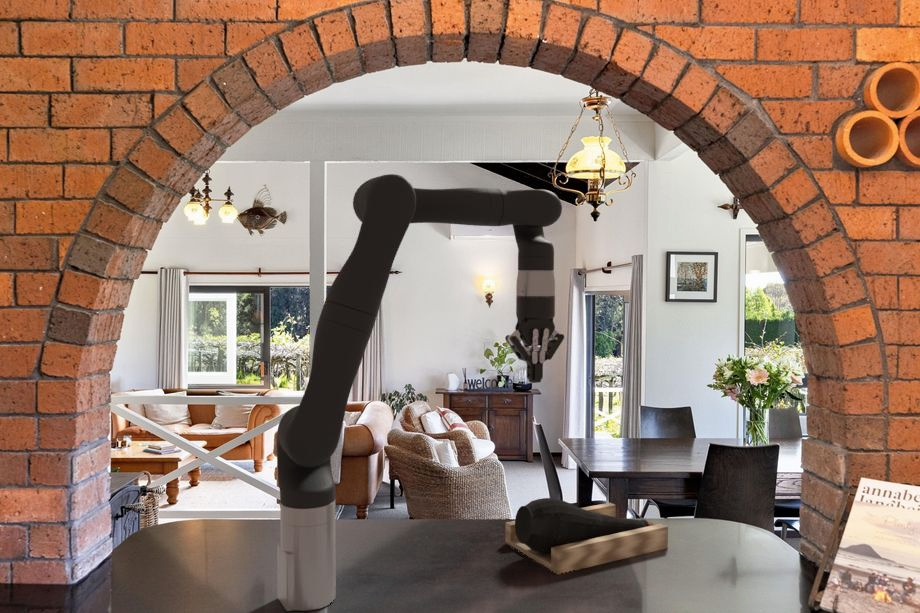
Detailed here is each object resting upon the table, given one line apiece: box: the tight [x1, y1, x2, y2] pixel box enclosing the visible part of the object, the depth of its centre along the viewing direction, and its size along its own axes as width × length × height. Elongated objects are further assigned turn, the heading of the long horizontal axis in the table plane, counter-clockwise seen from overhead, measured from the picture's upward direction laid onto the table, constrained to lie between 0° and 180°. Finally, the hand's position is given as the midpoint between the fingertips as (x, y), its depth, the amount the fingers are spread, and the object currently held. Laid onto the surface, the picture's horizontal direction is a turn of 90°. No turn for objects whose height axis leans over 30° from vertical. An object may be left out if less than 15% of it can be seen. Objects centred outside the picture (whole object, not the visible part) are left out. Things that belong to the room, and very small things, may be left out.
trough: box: [505, 502, 669, 575], centre depth 151 cm, size 28×18×4 cm, turn 119°
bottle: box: [514, 497, 655, 554], centre depth 148 cm, size 11×11×30 cm
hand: (534, 382), depth 144 cm, fingers closed
